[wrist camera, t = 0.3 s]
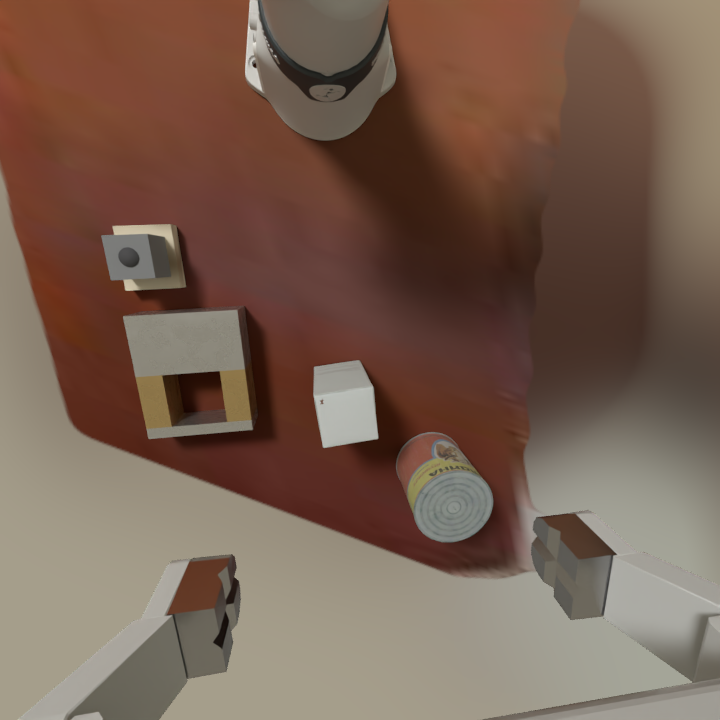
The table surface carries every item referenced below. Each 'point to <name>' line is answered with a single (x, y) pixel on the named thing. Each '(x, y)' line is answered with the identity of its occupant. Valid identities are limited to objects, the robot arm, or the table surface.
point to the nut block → (136, 256)
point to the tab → (172, 250)
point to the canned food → (443, 488)
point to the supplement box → (344, 404)
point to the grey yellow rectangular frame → (192, 368)
